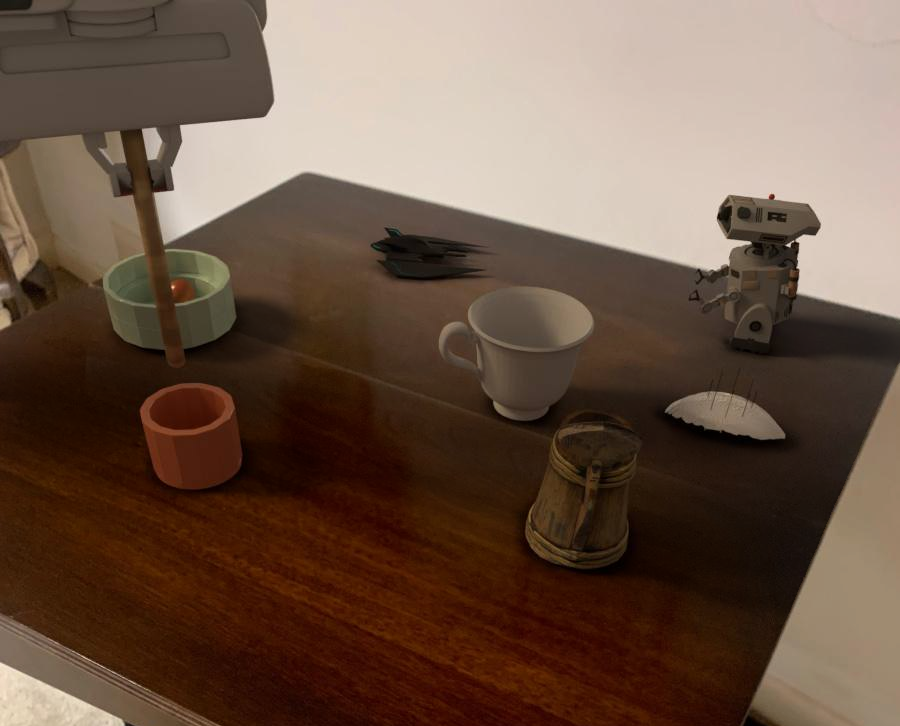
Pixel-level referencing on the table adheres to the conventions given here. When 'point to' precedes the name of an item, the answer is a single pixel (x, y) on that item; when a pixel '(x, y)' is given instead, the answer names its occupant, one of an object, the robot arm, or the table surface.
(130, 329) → the bowl
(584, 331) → the teacup
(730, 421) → the pincushion
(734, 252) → the figurine
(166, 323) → the stirring stick
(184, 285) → the bead
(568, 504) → the wooden mug
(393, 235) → the black starfighter
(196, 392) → the holder
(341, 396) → the table surface
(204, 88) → the robot arm
